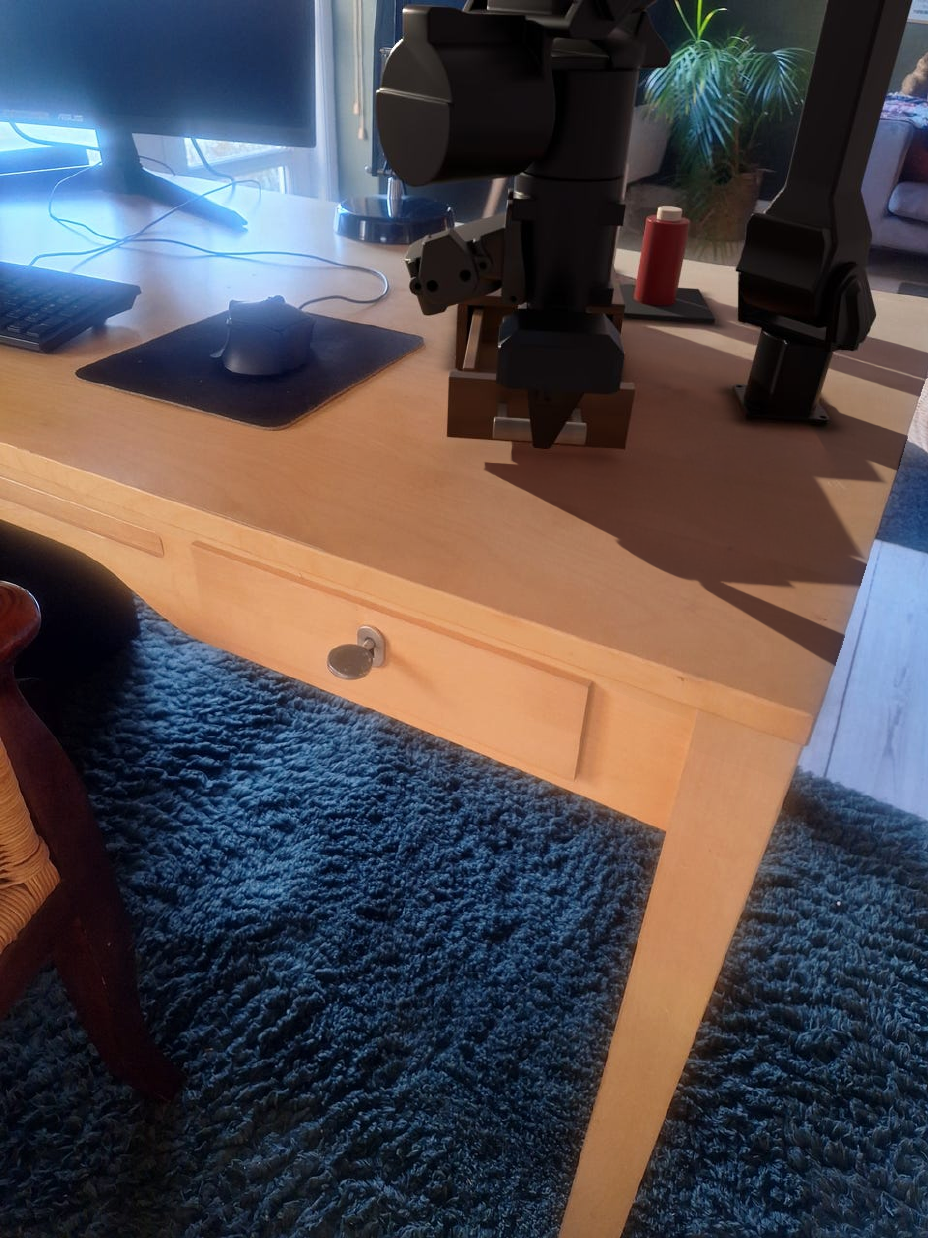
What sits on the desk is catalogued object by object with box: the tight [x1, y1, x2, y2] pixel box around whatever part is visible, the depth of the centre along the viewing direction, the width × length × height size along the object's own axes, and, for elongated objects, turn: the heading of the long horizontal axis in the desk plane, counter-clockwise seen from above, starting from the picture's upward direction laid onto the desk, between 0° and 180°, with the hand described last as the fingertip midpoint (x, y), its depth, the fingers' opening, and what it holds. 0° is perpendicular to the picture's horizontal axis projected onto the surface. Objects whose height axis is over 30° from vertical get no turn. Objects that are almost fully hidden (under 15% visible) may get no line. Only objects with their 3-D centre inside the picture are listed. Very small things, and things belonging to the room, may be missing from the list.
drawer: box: [446, 306, 636, 451], centre depth 64 cm, size 23×13×4 cm, turn 176°
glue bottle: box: [634, 205, 691, 306], centre depth 88 cm, size 4×4×9 cm
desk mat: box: [619, 283, 716, 326], centre depth 91 cm, size 11×11×1 cm
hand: (541, 446), depth 53 cm, fingers closed
